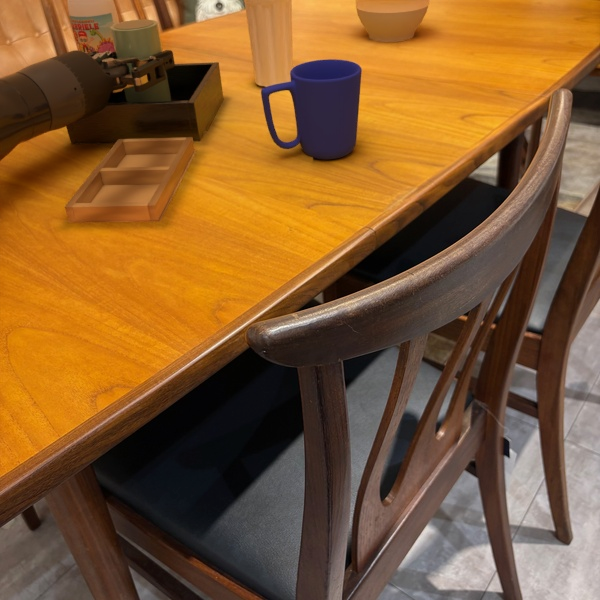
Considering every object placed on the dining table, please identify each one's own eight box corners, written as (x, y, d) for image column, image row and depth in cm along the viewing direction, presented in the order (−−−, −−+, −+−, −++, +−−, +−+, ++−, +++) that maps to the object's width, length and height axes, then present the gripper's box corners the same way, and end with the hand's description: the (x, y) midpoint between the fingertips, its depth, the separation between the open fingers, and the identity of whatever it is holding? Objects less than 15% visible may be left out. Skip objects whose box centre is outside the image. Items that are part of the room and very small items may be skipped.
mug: (257, 153, 77) (248, 72, 71) (343, 134, 80) (341, 55, 75) (281, 178, 71) (274, 91, 65) (373, 156, 74) (374, 72, 68)
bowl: (450, 35, 117) (454, -15, 112) (386, 52, 110) (388, 0, 105) (394, 22, 128) (396, -24, 123) (333, 36, 121) (332, -11, 116)
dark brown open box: (72, 147, 82) (59, 106, 79) (113, 103, 96) (104, 66, 93) (200, 144, 80) (193, 102, 77) (223, 99, 94) (218, 62, 91)
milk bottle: (96, 71, 111) (65, -55, 99) (137, 71, 110) (110, -57, 98) (78, 85, 105) (42, -48, 93) (121, 85, 103) (90, -50, 92)
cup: (259, 94, 95) (249, -7, 87) (243, 80, 102) (233, -15, 93) (307, 85, 98) (302, -14, 89) (289, 72, 104) (283, -22, 95)
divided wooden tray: (68, 226, 64) (62, 206, 63) (121, 156, 79) (116, 139, 77) (161, 224, 63) (156, 205, 62) (197, 154, 78) (194, 137, 76)
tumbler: (124, 122, 85) (103, 30, 78) (137, 107, 90) (118, 20, 83) (167, 121, 85) (150, 28, 78) (178, 106, 90) (162, 18, 83)
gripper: (94, 65, 68) (189, 30, 79) (9, 54, 74) (108, 23, 86) (110, 130, 72) (198, 88, 84) (29, 115, 79) (120, 78, 90)
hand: (152, 55), depth 85 cm, fingers closed on tumbler, 6 cm apart
